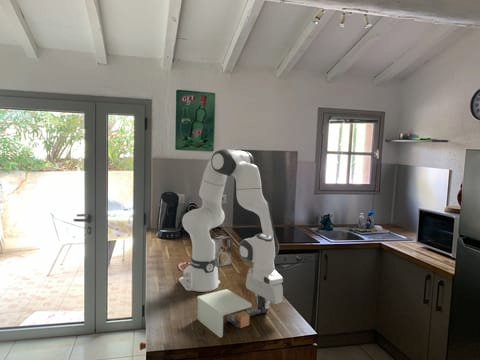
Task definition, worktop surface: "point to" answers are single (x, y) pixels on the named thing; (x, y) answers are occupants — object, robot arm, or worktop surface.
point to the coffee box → (222, 250)
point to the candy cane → (182, 264)
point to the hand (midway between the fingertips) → (262, 305)
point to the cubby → (218, 308)
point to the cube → (242, 318)
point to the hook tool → (250, 312)
